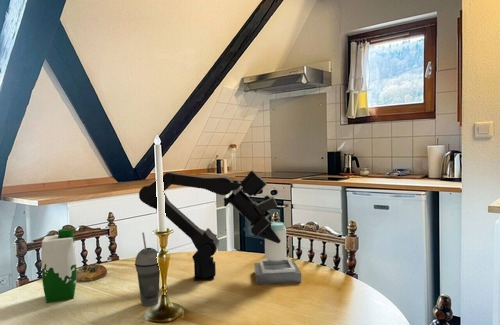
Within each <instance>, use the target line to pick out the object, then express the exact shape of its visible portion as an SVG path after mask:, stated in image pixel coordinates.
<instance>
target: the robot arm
mask: <svg viewBox="0 0 500 325" xmlns="http://www.w3.org/2000/svg"><path fill="white" fill-rule="evenodd" d="M162 176H163V182H164V191H163V192H164V195H165V213H166V216H165V217H166V218H167V219H168V220H169V221H171V222H172V223H173V224H174V225H175V226H176V227H177V228H178V229H179V230H181V231H182V232H183V233H184V234H185V235H186V236H187V237H188V238H189V239H191V241H192V243H193V245H194V248H195V249H196V251H195V253H194V254H193V255H192V258H191V259H192V260H193V264H194V265H193V266H194V268H193V269H194V278H193V281H209V280H211V281H213V280H214V279H215V277H216V271H217V270H216V269H217V268H216V261H214V255H215V254H216V252H217V251H218V249H219V247H220V241H219V238H218V235H217V234H215V233H214V232H213V231H212V230H211V229H210V228H209V227H207V229H201V227H199V226H197V225H196V224H195V223H194V222H193V221H192V220H191V219H190V218H189V217H187V215H185V214H184V213H183V212H182V211H181V210H180V209H178V208H177V207H176V206H175V204H173V203H172V202H171V201H170V200H169V198H168V197H167V195H166V193H165V191H166V190H167V189H168V188H169V187H171V186H172V185H173V186H180V187H181V186H182V187H188V188H195V189H196V188H197V189H203V190H206V191H209V192H211V193H214V194H217V195H220V196H227V195H228V197H223V201H224V202H223V206H224V207H227V206H228V205H229V204H231V206H232V207H233V208H234V209H235V210H236V211H237V212H239V214H241V217H242V218H243V219H244V218H245V220H247V222H248V223H250V226H251V228H250V229H251V231H250V233H251V234H252V235H253V236H254V237H255V238H256V237H260V238H263V239H264V240H265V239H268V240H271V241H273V242H276V243H280V242H281V240H280V239H279V238H278V236H277V235H276V234H275V232H274V231H273V229H272V228H271V222H273V221H272V214H271V210H272V209H276V208H277V207H278V203H277V201H276V200H275V197H274V196H270V195H266V196H265V195H264V197H263V200H262V201H261V202H259V203H258V202H257V201H256V200H255V201H253V199H252V198H250V197H252V196H254V197H256V196H257V195H258V194H259V193H260V192H261V191H262V190H263V189H265V187H266V186H267V185H268V183H267V182H266V181H265V180H264V178H262V177H261V175H258V174H257V173H256V172H254V170H250V172H249V173H248V174H247V176H245V178H244V179H242V181H240V180H234V179H232V178H231V177H230V176H225V175H223V176H212V177H211V176H200V175H191V174H185V173H177V172H173V171H169V172H166V173H164V174H163V175H162ZM156 181H157V180H155V181H154V182H152V183H151V184H148V185H145V186H142V187H141V188H140V190H139V193H138V198H139V200H140V201H141V202H142V203H144V204H145V205H147V206H148V207H150V208H153V209H155V210H157V197H156ZM240 187H241V188H240ZM239 188H240V189H239ZM238 189H239V190H238ZM236 190H238V191H237V192H235V191H236ZM232 191H233V192H232ZM230 193H231V194H230ZM268 215H269V216H268Z"/></svg>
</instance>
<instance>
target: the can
mask: <svg viewBox="0 0 500 325" xmlns="http://www.w3.org/2000/svg"><path fill="white" fill-rule="evenodd" d="M271 228H272V229H273V231H274V232H275V234H276V235H277V236H278V238H279V239H280V240H281V242H280V243H276V242H273V241H271V240H268V239H265V238H264V258H265V260H268V261H271V262H281V261H283V260H285V259H288V258H287V257H288V256H287V228H286V226H285V223H284V222H282V221H272V222H271Z"/></svg>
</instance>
